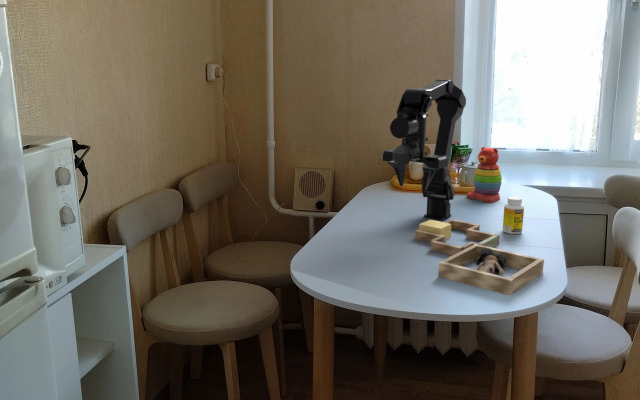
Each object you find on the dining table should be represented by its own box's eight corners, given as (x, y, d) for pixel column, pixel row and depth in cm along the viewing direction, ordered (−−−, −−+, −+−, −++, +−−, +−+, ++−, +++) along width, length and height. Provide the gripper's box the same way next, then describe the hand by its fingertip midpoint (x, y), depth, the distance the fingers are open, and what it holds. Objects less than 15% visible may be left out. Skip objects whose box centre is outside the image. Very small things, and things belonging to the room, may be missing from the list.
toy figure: (502, 289, 156) (507, 264, 170) (500, 263, 155) (506, 241, 168) (470, 288, 159) (478, 264, 172) (469, 263, 157) (477, 241, 171)
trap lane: (404, 244, 187) (404, 235, 186) (445, 225, 203) (445, 217, 203) (469, 259, 174) (470, 250, 174) (507, 239, 191) (508, 230, 190)
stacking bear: (464, 197, 237) (466, 147, 232) (483, 193, 243) (486, 144, 238) (488, 203, 228) (491, 151, 224) (507, 199, 234) (511, 148, 230)
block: (418, 237, 193) (419, 224, 192) (429, 232, 198) (429, 219, 197) (440, 242, 189) (440, 228, 188) (450, 237, 193) (451, 223, 192)
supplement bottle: (513, 235, 194) (515, 201, 191) (498, 231, 198) (500, 197, 196) (526, 232, 197) (529, 198, 194) (511, 228, 201) (513, 194, 199)
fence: (438, 276, 163) (438, 262, 162) (474, 256, 177) (475, 243, 176) (510, 295, 151) (511, 280, 151) (542, 272, 165) (544, 259, 164)
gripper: (371, 134, 191) (370, 188, 194) (429, 141, 179) (426, 198, 183) (393, 129, 199) (391, 181, 203) (450, 136, 187) (447, 190, 191)
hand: (413, 187), depth 195 cm, fingers open, 8 cm apart
